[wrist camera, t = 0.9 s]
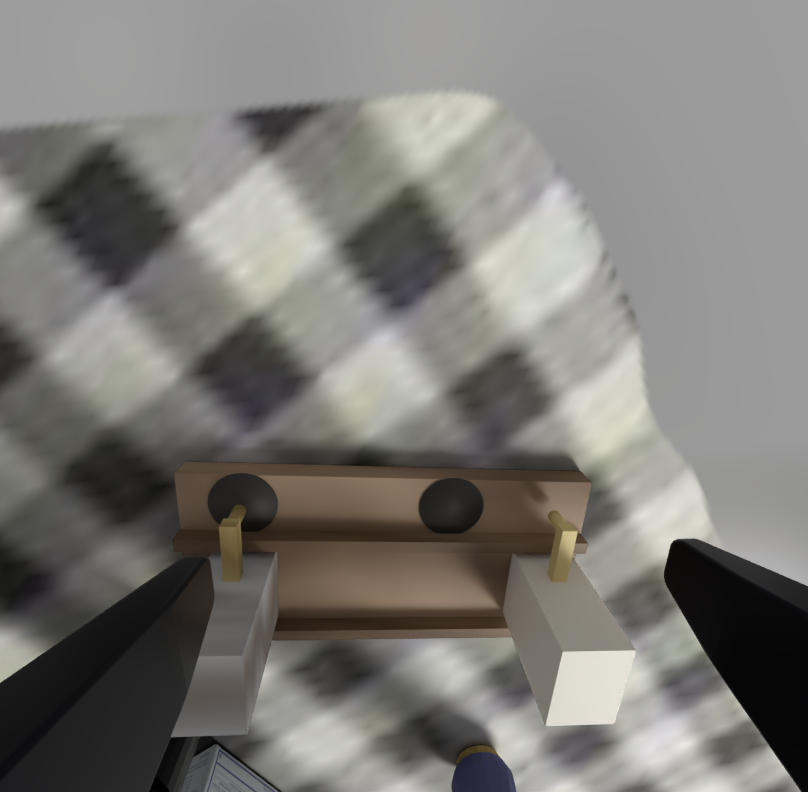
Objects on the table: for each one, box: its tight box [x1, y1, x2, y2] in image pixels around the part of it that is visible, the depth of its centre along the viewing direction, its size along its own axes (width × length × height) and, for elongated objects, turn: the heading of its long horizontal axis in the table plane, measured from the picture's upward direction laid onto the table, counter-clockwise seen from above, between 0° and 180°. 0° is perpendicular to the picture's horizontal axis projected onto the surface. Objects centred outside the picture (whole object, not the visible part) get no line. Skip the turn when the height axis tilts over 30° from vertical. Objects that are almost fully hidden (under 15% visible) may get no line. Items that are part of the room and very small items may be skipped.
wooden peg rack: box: [171, 462, 592, 737], centre depth 19 cm, size 9×20×7 cm, turn 86°
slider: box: [502, 510, 636, 726], centre depth 19 cm, size 7×3×6 cm, turn 176°
